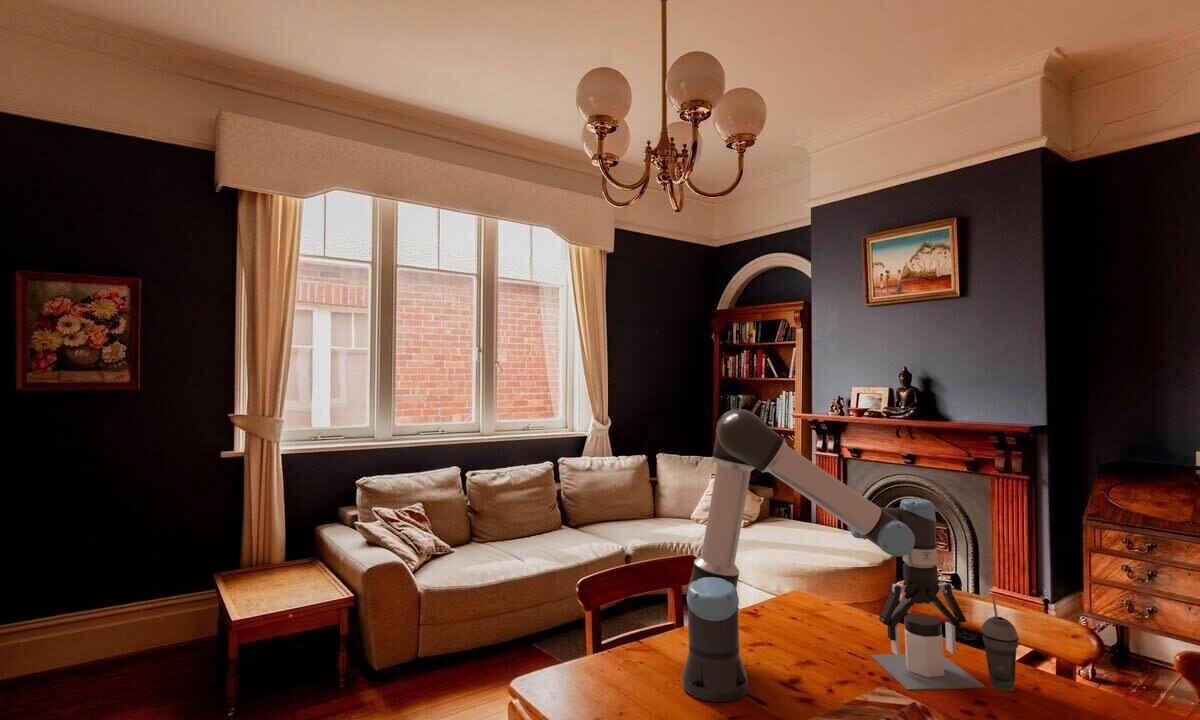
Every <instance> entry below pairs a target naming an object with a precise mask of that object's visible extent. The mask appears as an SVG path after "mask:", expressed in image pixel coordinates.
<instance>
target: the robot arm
mask: <svg viewBox="0 0 1200 720" xmlns="http://www.w3.org/2000/svg"><path fill="white" fill-rule="evenodd" d="M715 434H716V435H715V440H714V446H713V452H712V459H713V460H714V462H715V463H716V469H715V475H714V481H713V487H712V493H711V498H710V504H709V509H708V515H707V520H706V526H705V533H704V538H703V543H702V549H701V554H700V556H699V557H696V558H695V559H694V562H693V567H692V571H691V577H690V579H689V582H688V584H687V585H688V586H687V594H686V603H687V620H688V621H687V622H688V623H687V624H688V625H687V627H688V629H687V630H688V632H687V633H688V653H687V656H686V660H685V664H684V667H683V671H682V675H681V678H682V679H681V682H682V683H681V684H683V686H682V688H683V687H684V688H685V690H686V691H687V692H689V693H690V694H691V695H693V696H695V697H698V698H700V699H699V700H701V699H704V700H703V701H705V700H707V701H706V702H710V701H712V702H713V703H726V702H727V703H728V702H734V701H737V700H739V699H742V698H743V697H745V696H746V695H747V693H748V691H749V679H748V675H747V672H746V669H745V667H744V664H743V660H742V658H741V655H740V631H739V627H740V626H739V601H740V600H739V595H738V591H737V589H738V582H739V576H740V570H739V568H738V567H737V566H736V557H737V551H738V546H739V541H740V535H741V529H742V523H743V518H744V512H745V506H746V500H747V495H748V489H749V483H750V479H751V473H752V471H753V470H757V471H759V472H761V474H762V473H769V474H771V475H772V476H774V477H776V478H777V479H778V480H780V481H781V482H783V483H785V484H786V485H787V486H789V488H792V489H793V490H795V491H796V492H798V493H799V494H800V495H802V496H804V497H805V498H807V499H808V500H809V501H811V502H812V503H814V504H815V505H816V506H819V508H822V510H824V511H825V512H827V513H829V514H830V515H832V516H834V517H835V518H836V519H837V520H839V521H841V522H842V523H844V524H845V525H847V526H848V527H849V530H850V532H851V535H852V536H853V538H855V539H863V540H868V541H870V542H872V544H874V545H875V546H877V547H879V548H880V550H882V551H883V552H884V553H886V554H888V555H890V556H892V557H902V561H903V564H902V570H903V573H902V574H903V576H902V577H903V581H904V582H903V585H902V584H897V583H895V582H892V583H891V584H890V593H889V594H888V597H887V599H886V602H885V604H884V606H883V609H882V611H881V613H880V615H879V618H878V620H879V622H881V624H884V626H886V627H887V638H888V639H889V640H890V642H891V643H890V644H891V646H890V647H891V652H893V653H894V654H896V655H897V656H900V654H901V639H900V638H901V637H900V627H899V626H897V625H899V623H900V622H901V620H902V619H903V618H904V617H905V616H906V613H908V611H909V610H910V608H911V607H913V606H915V604H917V605H922V604H927V605H929V604H931V603H932V604H933V605H934V606H935V607H936V609H937V610H938V611H939V612H940V613H941V614H942V615H943V616H944V617H945V619H947V621H945V623H944V624H945V626H944V627H945V650H947V651H948V652H950V653H951V654H952V655H955V654H957V650H956V649H957V646H956V639H959V628H960V627H961V626H962V623H966V622H967V619H966V616H965V615H964V613H963V611H962V609H961V607H960V606H959V604H958V602H957V600H956V598H955V596H954V594H953V590H952V585H951V584H949V583H947V582H946V581H941V582H940V583H938V581H939V573H938V569H939V568H938V567H937V564H938V551H937V549H938V548H937V518H936V509H935V504H934V503H933V502H932V501H931V500H928V499H925V498H917V497H916V498H915V497H914V498H913V497H912V498H910V497H909V498H903V499H901V500H900V504H899V507H898V506H897V507H880V506H878V505H876V504H875V503H874V502H872V501H870V499H868V498H867V497H865V496H863V495H862V494H860V493H859V492H857V491H856V490H854V489H853V488H851V487H850V486H849V485H847V484H846V483H844V482H842V481H841V480H839V479H837V478H836V477H835V476H833V475H832V474H830V473H829V472H827V471H826V470H825V469H823V468H821V466H819V465H817V464H815V463H814V462H813V461H811V460H810V459H808V458H806V457H805V456H803V455H802V454H800V453H799V452H797V451H796V450H794V449H793V448H792V447H790V446H789V445H787V444H786V443H787V441H786V439H785V438H784V437H783V436H781V435H780V434H778V433H777V432H776V431H775V430H773V429H772V428H771V427H769V425H767V423H765V422H764V420H763V419H761V418H760V416H758V415H756V414H755V413H753V412H752V411H751V410H749V409H748V410H747V409H744V408H743V409H742V408H734V409H731V410H729V411H726V412H725V413H724V414H722V415H721V416H720V418H719V419H718V421H717V423H716V428H715ZM939 591H940V592H941V593H942V595H943V597H944V599H945V601H946V602H947V604H948V606H949V608H950V610H951V611H952V612H951V611H950V610H949V609H948V608H947V607H946V606H945V604H944V603H943V602H942V601H941V600H940V598H939V597H938V596H937V595H938V593H939ZM903 592H904V594H903ZM902 594H903V596H902V597H901V595H902ZM900 597H901V600H900ZM899 601H900V602H899ZM685 690H684V691H685ZM686 691H685V692H686ZM687 692H686V693H687ZM691 695H690V696H691ZM693 696H692V697H693ZM695 697H694V698H695ZM698 698H697V699H698ZM712 702H711V703H712Z"/></svg>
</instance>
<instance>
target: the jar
mask: <svg viewBox="0 0 1200 720" xmlns="http://www.w3.org/2000/svg"><path fill="white" fill-rule="evenodd" d="M903 625H904V645H905V646H904V648H905V649H904V650H905V651H904V652H905V653H904V654H906V665H907V669H908V671H909V672H912V673H915V674H918V675H921V676H924V677H927V678H928V677H937V676H944V656H945V655H944V640H943V639H944V637H943V634H942V633H943V628H942V627H943V626H942V621H941V620H940V618H939V619H938V618H937V617H935V616H932V615H930V614H925V613H910V614H909V613H908V614H907V615H906V614H905V615H904V616H903Z"/></svg>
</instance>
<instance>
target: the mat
mask: <svg viewBox="0 0 1200 720" xmlns="http://www.w3.org/2000/svg"><path fill="white" fill-rule="evenodd" d="M870 657H871V658H872V659H873V661H875V662H876V663H878V664H879V666H881V667H882V669H884V670H885V671H886V672H887V673H888V674H889V675H891V677H892V678H894V680H896V681H897V682H898V683H899V684H900V685H901V686H902V687H904V688H905V690H907V691H925V690H950V689H953V690H954V689H955V690H956V689H977V688H978V689H981V688H986V686H985V685H984V684H983V683H981V681H979V680H977V679H976V678H974V677H973V676H972V675H971V674H970V673H968V672H967V671H965V670H964V669H963V668H961V667H960V666H958V665H957V664H956V663H955V662H953V661H952V660H950V659H949V658H948V657H946V656H945V655H944V676H937V677H928V678H927V677H924V676H921V675H918V674H915V673H912V672H909V671H908V669H907V665H906V654H905V653H900V656H897V655H896V654H895V653H894V654H871V655H870Z"/></svg>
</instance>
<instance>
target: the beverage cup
mask: <svg viewBox="0 0 1200 720" xmlns="http://www.w3.org/2000/svg"><path fill="white" fill-rule="evenodd" d="M991 598H992V604H993V612H994V613H993V614H994V616H991V617H989V618H987V619H985V621H984V622H983V624H982V627H981V628H982V629H981V635H982V641H983V643H984V648H985V657H986V663H987V669H988V676H989V680H990V687H991V688H994V689H995V690H997V689H998V691H1000V690H1001V691H1002V692H1006V691H1010V692H1014V690H1015V683H1016V664H1017V663H1016V662H1017V649H1018V645H1019V635H1018V632H1017V630H1016V627H1015V626H1014V624H1013V623H1012V622H1011V621H1010V620H1008V619H1007V618H1004V617H1002V616H998V611H997V609H998V608H997V602H996V597H995V596H994V595H993V596H991ZM1001 691H1000V692H1001Z"/></svg>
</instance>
